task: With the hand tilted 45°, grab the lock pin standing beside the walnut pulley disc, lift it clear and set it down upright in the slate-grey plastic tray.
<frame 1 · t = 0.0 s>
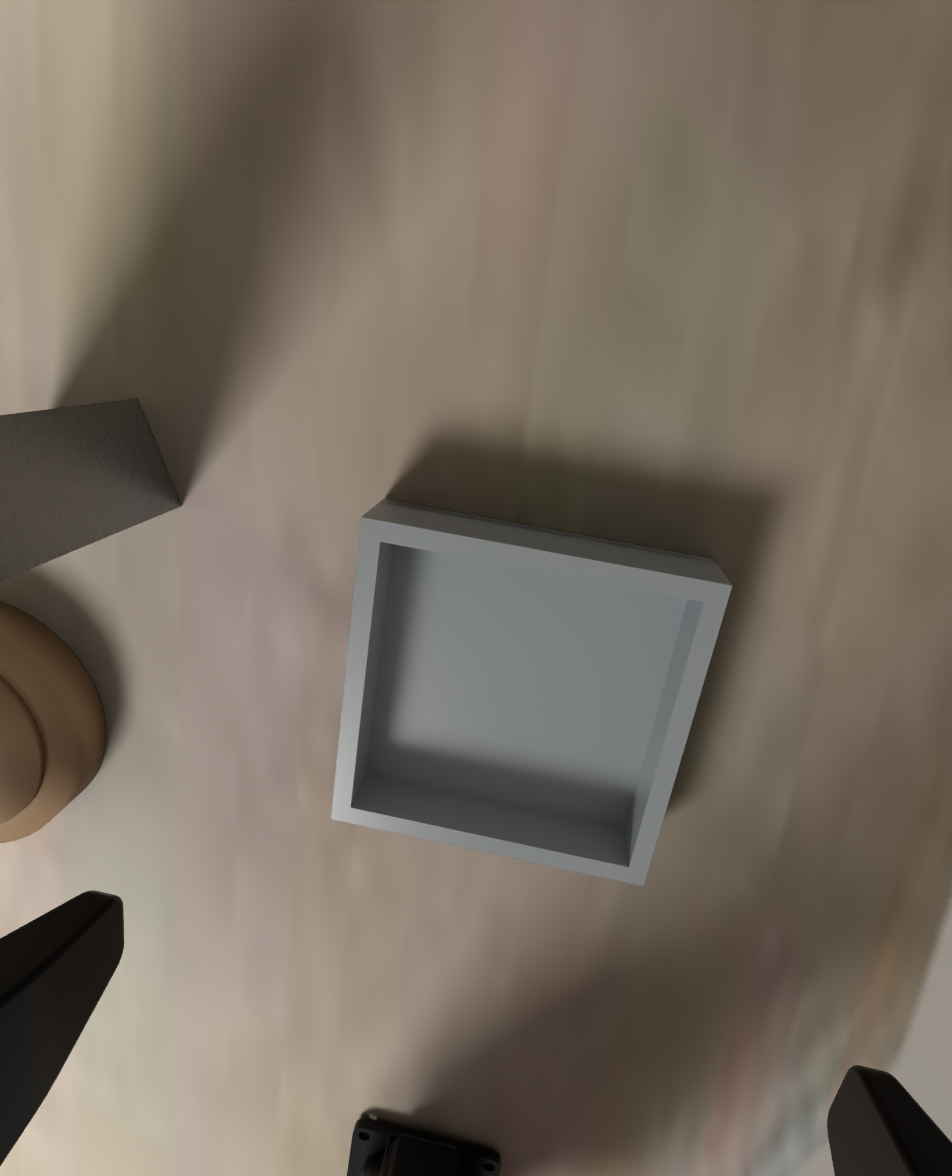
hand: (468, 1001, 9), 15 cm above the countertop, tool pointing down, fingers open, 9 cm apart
lock pin: (113, 467, 23), on the countertop
tray: (517, 676, 23), on the countertop
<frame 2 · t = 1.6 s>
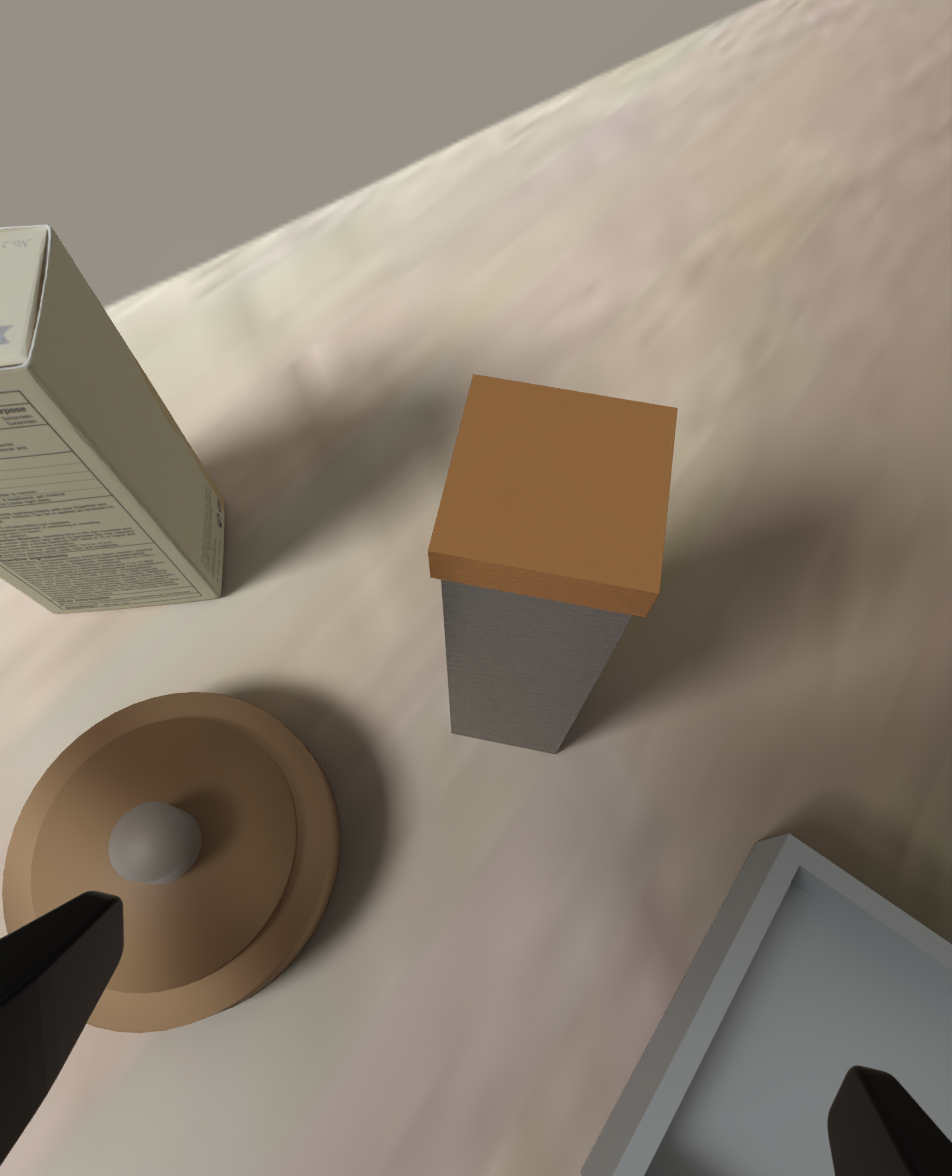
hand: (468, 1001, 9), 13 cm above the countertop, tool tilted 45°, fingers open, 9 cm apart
lock pin: (512, 693, 24), on the countertop
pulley: (193, 852, 22), on the countertop
tray: (840, 1120, 19), on the countertop
skincare box: (141, 561, 26), on the countertop
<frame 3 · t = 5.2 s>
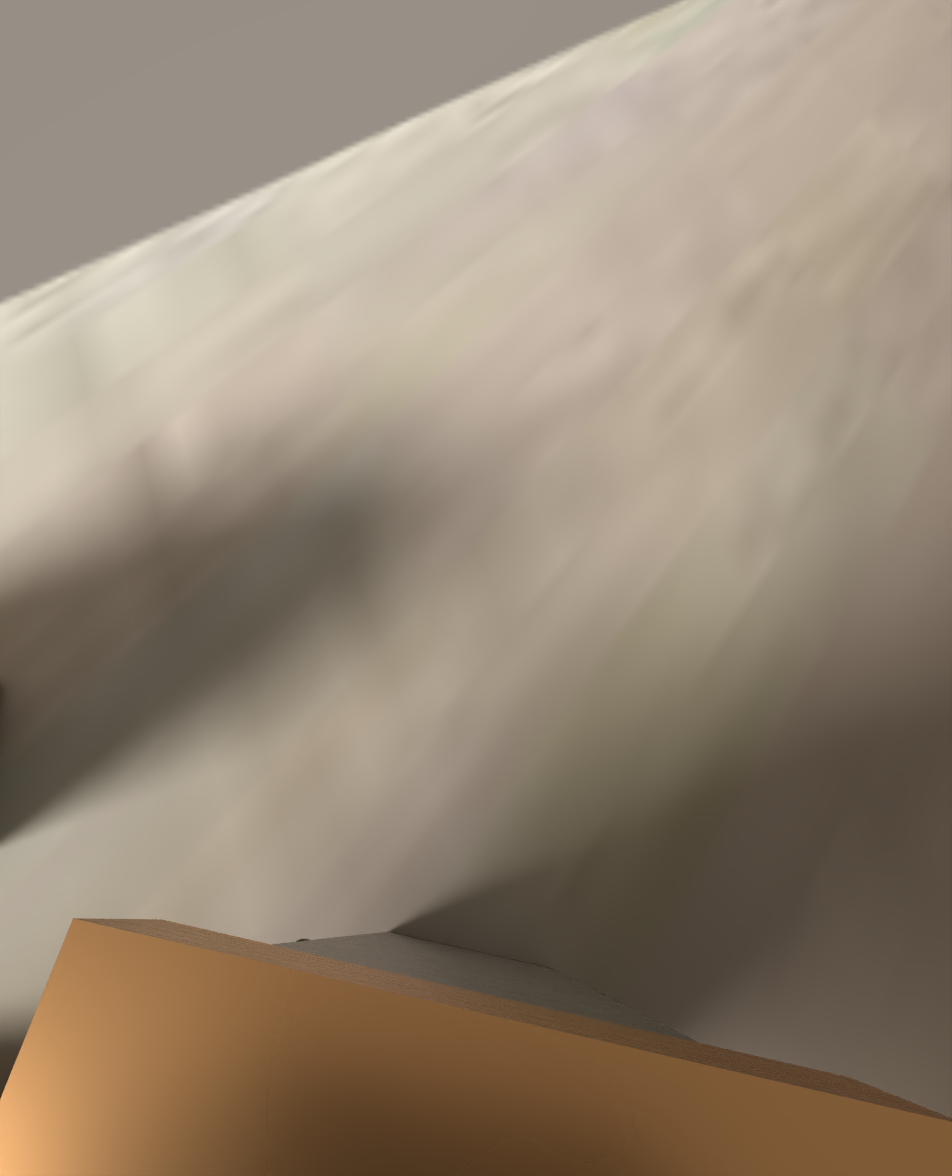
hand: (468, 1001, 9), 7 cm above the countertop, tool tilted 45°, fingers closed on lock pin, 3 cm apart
lock pin: (452, 1047, 14), on the countertop, touching gripper
when the fingers open (9 cm above the countertop, at t = 8.8 s): lock pin drops 1 cm, resting on tray.
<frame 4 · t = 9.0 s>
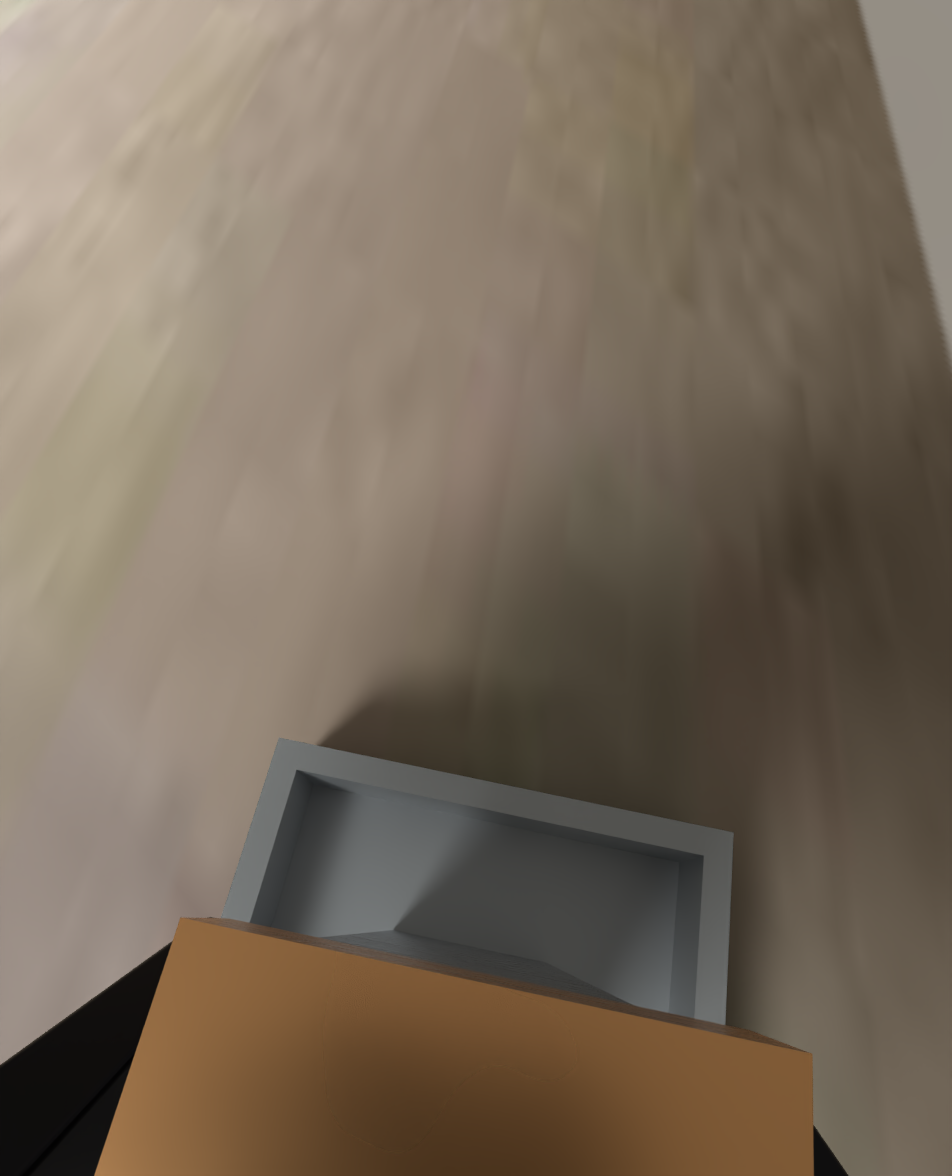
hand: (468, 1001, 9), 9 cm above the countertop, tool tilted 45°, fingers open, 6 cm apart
lock pin: (453, 1035, 15), point 1 cm above the countertop, touching tray
tray: (453, 1033, 16), on the countertop
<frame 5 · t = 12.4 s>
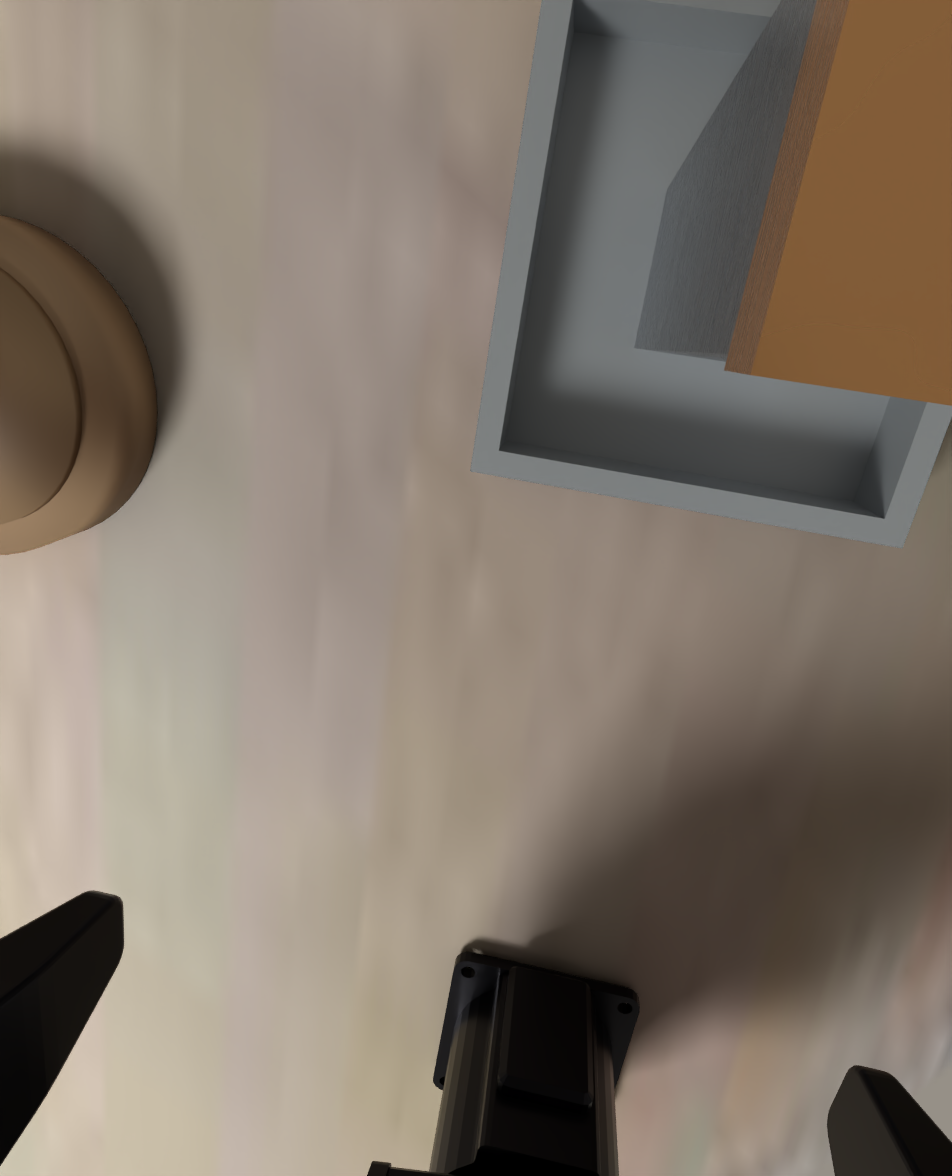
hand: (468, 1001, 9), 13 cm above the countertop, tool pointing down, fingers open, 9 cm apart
lock pin: (723, 282, 17), point 1 cm above the countertop, touching tray
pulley: (10, 386, 21), on the countertop
tray: (719, 285, 17), on the countertop
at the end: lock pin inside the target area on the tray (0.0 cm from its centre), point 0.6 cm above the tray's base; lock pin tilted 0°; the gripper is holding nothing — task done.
